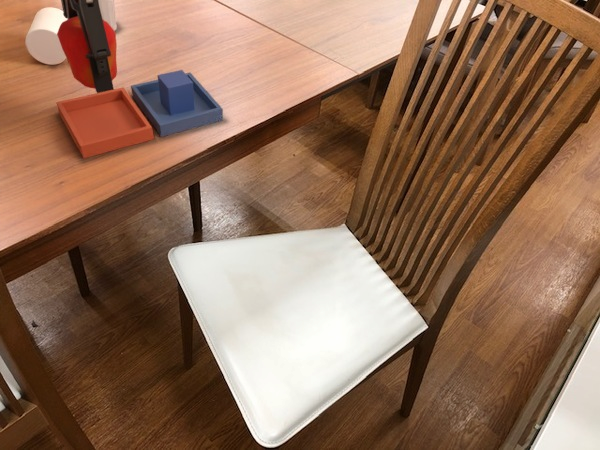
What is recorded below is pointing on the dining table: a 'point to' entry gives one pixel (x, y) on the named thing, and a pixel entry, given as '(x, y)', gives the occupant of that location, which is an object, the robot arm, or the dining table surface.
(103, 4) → the cup
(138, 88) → the blue tray
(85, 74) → the apple
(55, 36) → the mug
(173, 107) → the block
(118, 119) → the red tray
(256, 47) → the dining table surface
